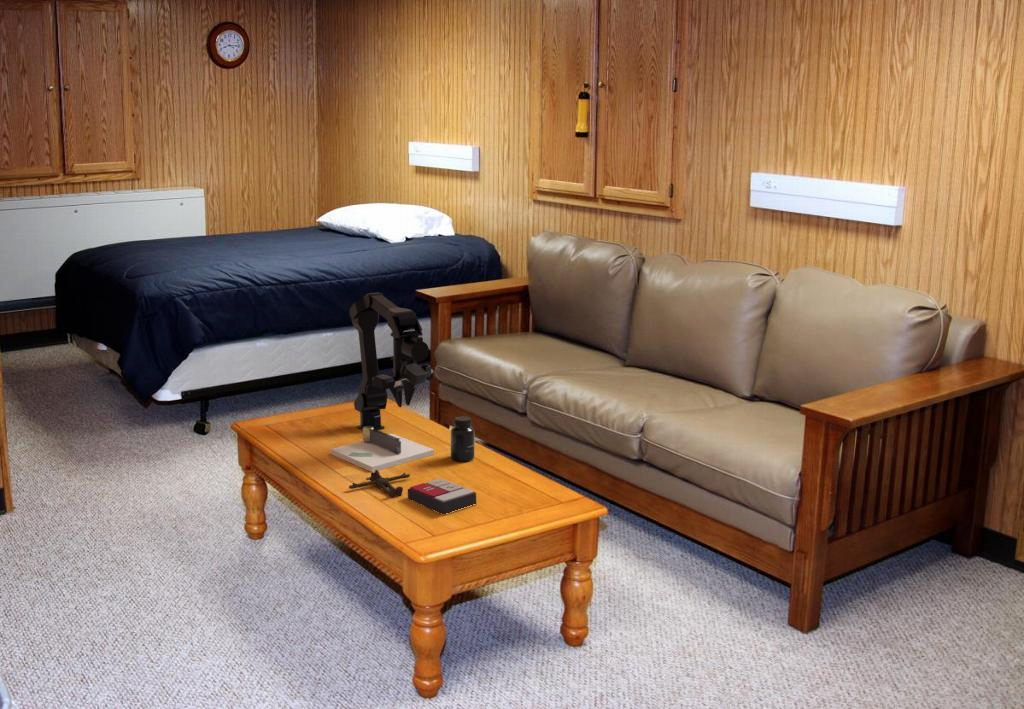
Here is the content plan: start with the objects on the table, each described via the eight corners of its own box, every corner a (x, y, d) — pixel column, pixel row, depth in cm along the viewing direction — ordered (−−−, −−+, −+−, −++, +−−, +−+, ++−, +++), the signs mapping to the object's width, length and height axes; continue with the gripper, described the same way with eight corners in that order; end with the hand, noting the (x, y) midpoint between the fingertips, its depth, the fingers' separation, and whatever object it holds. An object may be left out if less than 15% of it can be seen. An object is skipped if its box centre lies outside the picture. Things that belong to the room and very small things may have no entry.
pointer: (360, 440, 318) (360, 427, 317) (369, 438, 320) (369, 425, 319) (395, 454, 306) (395, 441, 305) (404, 452, 309) (404, 438, 308)
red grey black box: (440, 476, 286) (476, 489, 275) (440, 492, 287) (477, 505, 276) (406, 486, 279) (443, 499, 268) (407, 502, 279) (443, 516, 269)
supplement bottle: (473, 462, 306) (474, 422, 303) (449, 462, 306) (449, 422, 303) (475, 454, 313) (475, 415, 310) (451, 454, 313) (451, 414, 310)
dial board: (330, 454, 312) (330, 448, 311) (391, 438, 326) (391, 433, 326) (372, 472, 298) (372, 466, 297) (434, 454, 312) (433, 449, 312)
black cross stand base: (365, 494, 274) (341, 471, 286) (365, 509, 276) (341, 486, 287) (427, 481, 284) (402, 460, 295) (427, 496, 285) (401, 474, 297)
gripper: (394, 364, 299) (395, 418, 302) (446, 354, 311) (446, 406, 315) (370, 357, 306) (371, 409, 310) (421, 347, 319) (422, 397, 323)
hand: (403, 406), depth 314 cm, fingers open, 3 cm apart
